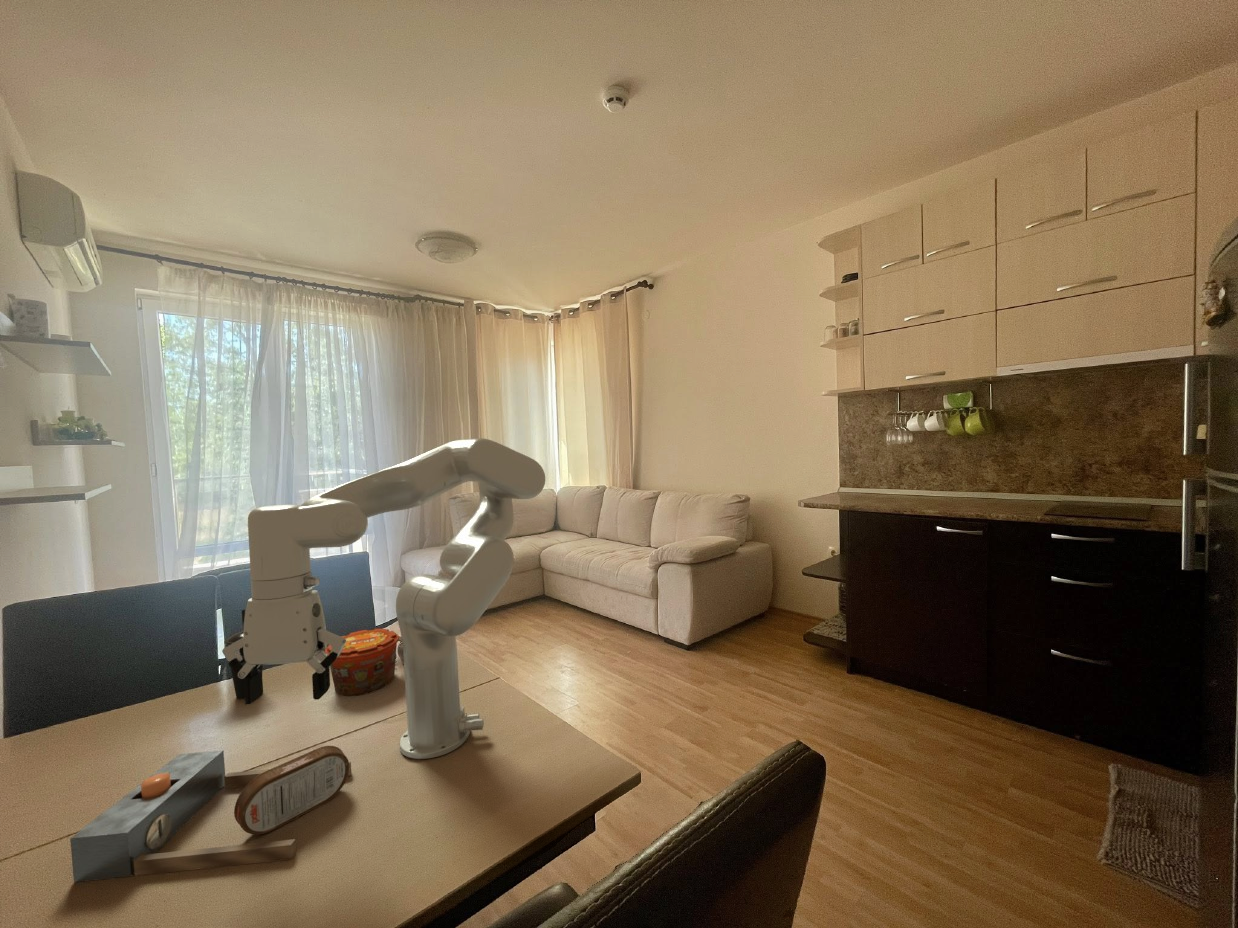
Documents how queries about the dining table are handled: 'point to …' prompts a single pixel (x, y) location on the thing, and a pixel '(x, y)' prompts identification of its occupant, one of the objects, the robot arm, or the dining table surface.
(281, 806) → the tin
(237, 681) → the drinking cup
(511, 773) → the dining table surface
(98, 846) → the cabinet
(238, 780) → the rail channel
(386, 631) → the food container
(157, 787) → the button
